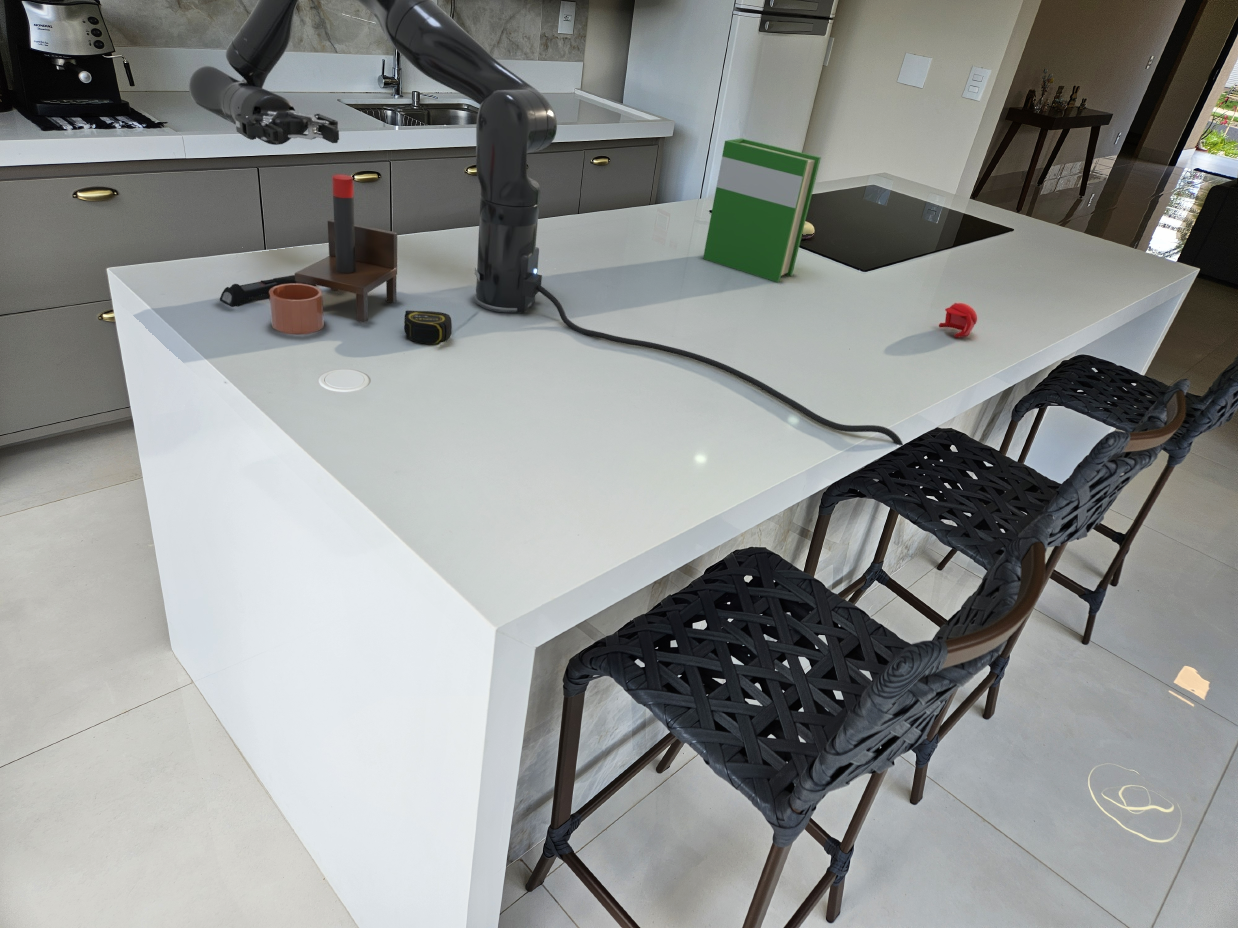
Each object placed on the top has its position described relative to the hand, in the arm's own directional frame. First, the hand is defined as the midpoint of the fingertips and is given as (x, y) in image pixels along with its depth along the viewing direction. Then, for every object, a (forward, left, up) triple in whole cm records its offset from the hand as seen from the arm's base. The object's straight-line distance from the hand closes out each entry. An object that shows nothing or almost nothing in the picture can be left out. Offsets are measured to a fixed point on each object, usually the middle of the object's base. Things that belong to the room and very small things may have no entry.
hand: (308, 136), depth 125 cm
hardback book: (-66, -58, -23) cm, 91 cm away
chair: (-9, +6, -23) cm, 25 cm away
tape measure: (-24, +11, -23) cm, 35 cm away
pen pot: (-7, +17, -23) cm, 30 cm away
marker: (-9, +7, -17) cm, 20 cm away
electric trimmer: (+3, +9, -23) cm, 25 cm away
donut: (-74, -93, -23) cm, 121 cm away
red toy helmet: (-107, -41, -23) cm, 117 cm away
